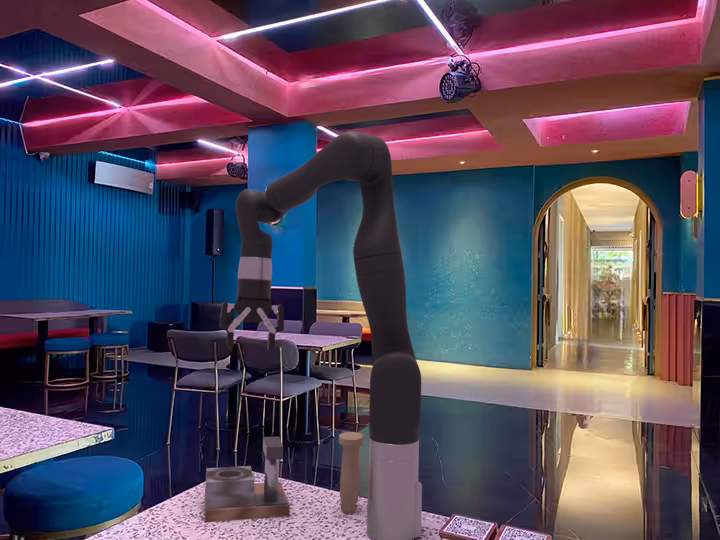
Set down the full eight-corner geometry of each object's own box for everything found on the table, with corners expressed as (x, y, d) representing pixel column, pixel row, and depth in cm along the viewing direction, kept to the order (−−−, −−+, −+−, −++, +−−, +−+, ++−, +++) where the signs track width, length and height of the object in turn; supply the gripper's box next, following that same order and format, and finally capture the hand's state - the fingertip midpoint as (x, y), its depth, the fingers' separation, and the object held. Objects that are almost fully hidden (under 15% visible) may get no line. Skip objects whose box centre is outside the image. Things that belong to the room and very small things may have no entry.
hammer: (280, 505, 107) (283, 446, 107) (264, 506, 106) (266, 447, 107) (276, 491, 114) (278, 436, 114) (260, 492, 113) (263, 437, 113)
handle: (362, 506, 114) (364, 432, 115) (358, 518, 108) (360, 440, 109) (339, 504, 115) (342, 431, 116) (334, 516, 108) (336, 438, 109)
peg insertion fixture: (280, 491, 121) (281, 459, 122) (289, 515, 108) (290, 479, 108) (204, 496, 117) (206, 462, 118) (204, 522, 104) (206, 484, 104)
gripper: (223, 275, 120) (218, 350, 119) (288, 279, 124) (284, 352, 123) (221, 276, 127) (217, 347, 126) (283, 280, 131) (279, 348, 130)
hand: (250, 349), depth 124 cm, fingers open, 8 cm apart
